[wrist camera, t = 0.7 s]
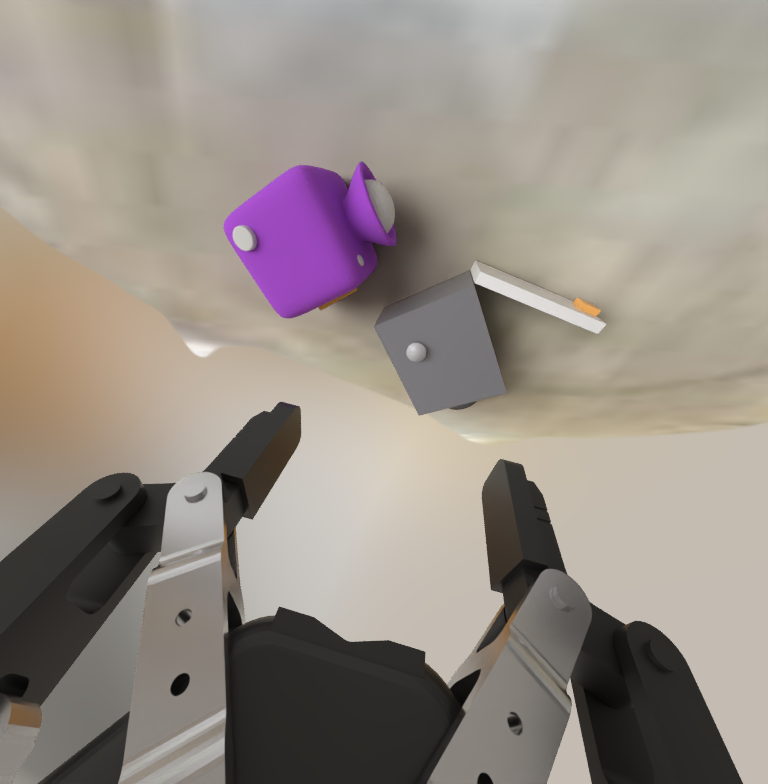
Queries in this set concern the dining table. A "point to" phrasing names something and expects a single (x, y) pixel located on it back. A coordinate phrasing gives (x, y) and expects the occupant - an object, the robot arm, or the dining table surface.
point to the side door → (538, 297)
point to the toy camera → (312, 236)
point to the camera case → (442, 346)
